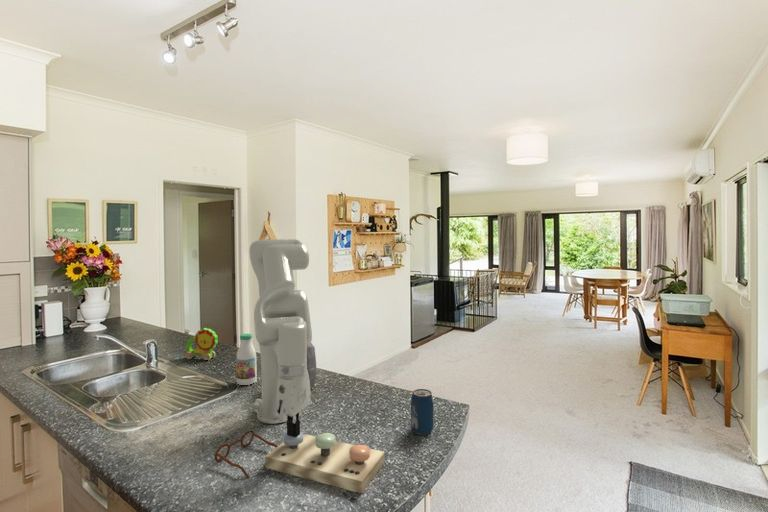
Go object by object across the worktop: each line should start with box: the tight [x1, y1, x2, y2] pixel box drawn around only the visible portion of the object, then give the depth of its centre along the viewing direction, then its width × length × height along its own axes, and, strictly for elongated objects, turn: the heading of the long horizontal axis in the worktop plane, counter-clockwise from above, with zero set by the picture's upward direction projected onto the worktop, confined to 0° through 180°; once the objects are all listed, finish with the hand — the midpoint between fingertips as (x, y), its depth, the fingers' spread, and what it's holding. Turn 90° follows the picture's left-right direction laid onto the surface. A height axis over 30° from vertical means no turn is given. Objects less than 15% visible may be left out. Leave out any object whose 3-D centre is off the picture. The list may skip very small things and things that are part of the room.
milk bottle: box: [236, 333, 258, 386], centre depth 165 cm, size 8×8×20 cm
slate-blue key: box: [283, 430, 304, 446], centre depth 110 cm, size 5×5×2 cm
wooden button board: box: [264, 433, 386, 494], centre depth 107 cm, size 28×14×4 cm, turn 68°
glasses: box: [214, 429, 279, 479], centre depth 110 cm, size 13×13×5 cm
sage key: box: [315, 432, 336, 449], centre depth 107 cm, size 5×5×2 cm
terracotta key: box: [349, 444, 371, 462], centre depth 103 cm, size 5×5×2 cm
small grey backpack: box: [307, 342, 317, 390], centre depth 159 cm, size 15×8×20 cm, turn 58°
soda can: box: [410, 388, 435, 436], centre depth 126 cm, size 7×7×12 cm
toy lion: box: [184, 327, 219, 361], centre depth 197 cm, size 16×5×15 cm, turn 79°
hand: (293, 434), depth 110 cm, fingers closed
